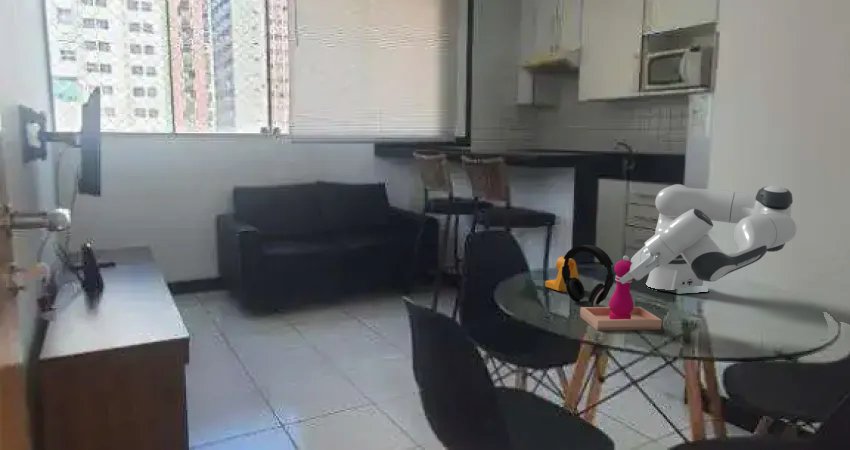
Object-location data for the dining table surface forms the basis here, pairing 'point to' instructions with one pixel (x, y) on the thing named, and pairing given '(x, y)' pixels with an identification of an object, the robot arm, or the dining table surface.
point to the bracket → (559, 281)
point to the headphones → (575, 285)
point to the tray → (638, 321)
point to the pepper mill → (621, 293)
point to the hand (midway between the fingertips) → (621, 278)
